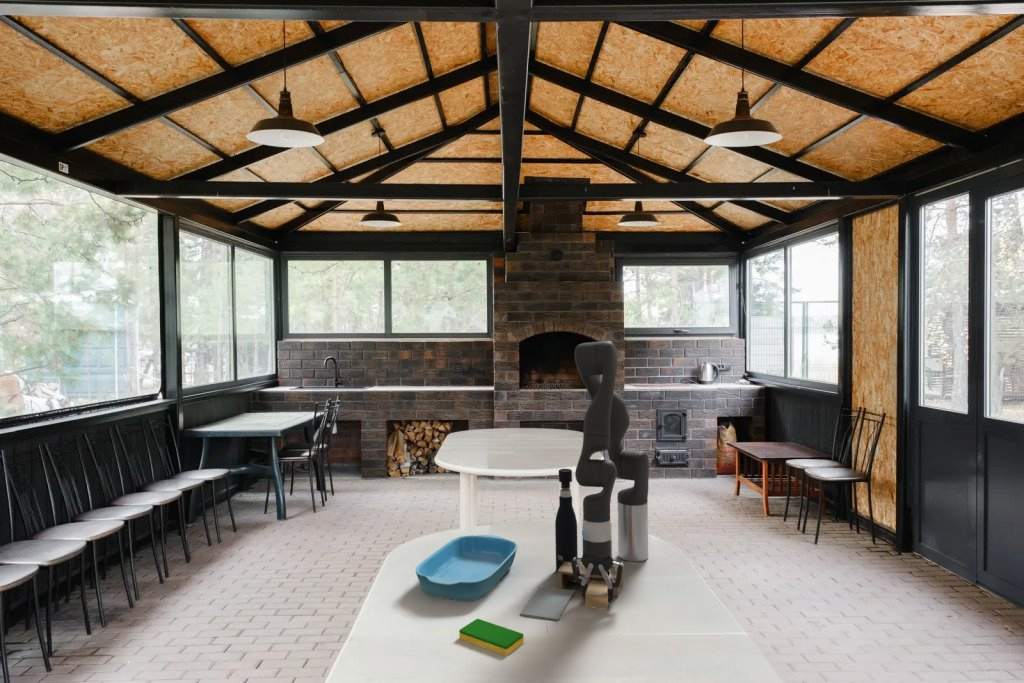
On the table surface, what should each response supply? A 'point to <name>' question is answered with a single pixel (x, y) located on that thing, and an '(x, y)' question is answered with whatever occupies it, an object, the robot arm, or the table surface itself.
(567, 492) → the wine bottle
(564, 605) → the slate mat
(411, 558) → the table surface
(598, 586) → the oak block
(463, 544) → the casserole dish
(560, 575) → the walnut shelf
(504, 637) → the dish sponge
